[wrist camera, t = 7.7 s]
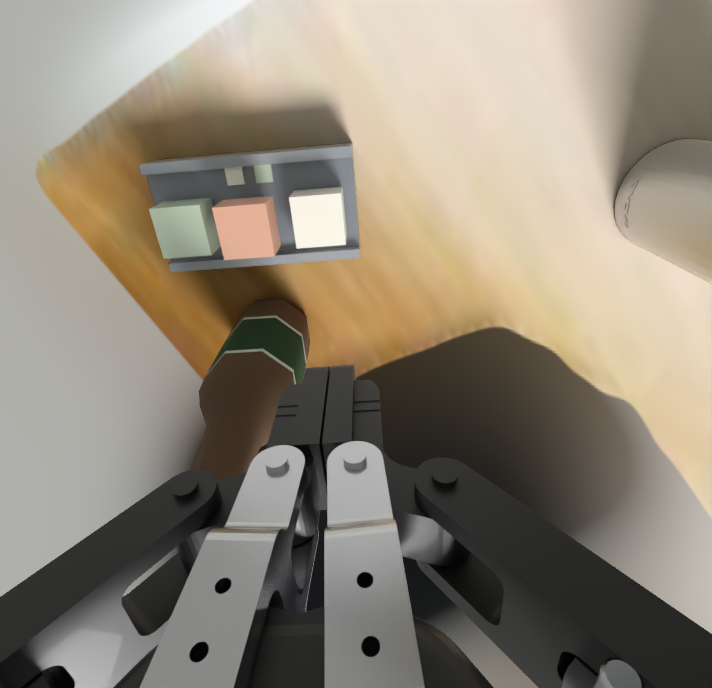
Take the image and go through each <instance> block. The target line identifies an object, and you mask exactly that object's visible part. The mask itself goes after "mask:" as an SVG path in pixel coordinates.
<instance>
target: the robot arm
mask: <svg viewBox="0 0 712 688" xmlns="http://www.w3.org/2000/svg"><path fill="white" fill-rule="evenodd" d="M614 212H615V219H616V223H617V226H618V228H619V231H620V232H621V233H622V234H623V236H624V237H625V238H626V239H628V240H629V241H630V242H632V243H633V244H635V245H637V246H639V247H641V248H643V249H645V250H647V251H649V252H651V253H653V254H655V255H656V256H658V257H660V258H662V259H664V260H666V261H668V262H670V263H672V264H674V265H676V266H678V267H680V268H682V269H684V270H686V271H688V272H689V273H691V274H693V275H695V276H697V277H699V278H701V279H703V280H705V281H707V282H709V283H711V284H712V141H707V140H698V139H680V140H675V141H672V142H668V143H665V144H663V145H661V146H659V147H657V148H655V149H653V150H652V151H651V152H649V153H648V154H646V155H645V156H644V157H642V158H641V159H640V160H639V161H638V162H637V163H636V164H635V165H634V166H633V167H632V169H631V170H630V171H629V173H628V174H627V175H626V177H625V178H624V180H623V182H622V184H621V186H620V188H619V191H618V194H617V197H616V201H615V211H614ZM320 510H327V512H328V526H327V527H325V536H324V537H325V539H324V542H325V543H324V546H325V549H324V553H325V554H324V557H325V560H324V561H325V563H324V564H325V567H324V568H325V570H324V571H325V572H324V573H325V606H324V607H321V608H317V609H314V610H311V611H308V612H306V602H307V597H308V591H309V586H310V580H311V575H312V569H313V564H314V558H315V552H316V547H317V542H318V521H319V511H320ZM174 548H176V550H177V552H178V553H177V554H176V555H175V556H173V557H172V558H171V559H170V560H169V561H167V562H166V563H165V564H164V565H162V566H161V567H160V568H159V569H158V570H156V571H155V572H154V573H153V574H152V575H150V576H149V577H148V578H147V579H146V580H144V581H143V582H142V583H141V584H140V585H139V586H137V587H136V588H135V589H133V590H132V591H131V592H130V593H129V594H127V595H126V596H124V597H123V594H124V592H125V590H126V589H127V588H128V586H130V585H131V584H132V582H134V581H135V580H136V579H137V578H139V577H140V576H141V575H142V574H143V573H145V572H146V571H147V570H148V569H150V568H151V567H152V566H153V565H154V564H155V563H157V562H158V561H159V560H161V559H162V558H163V557H164V556H166V555H167V554H168V553H169V552H170V551H172V550H173V549H174ZM402 556H404V557H408V558H412V559H415V560H417V563H418V565H419V567H420V569H421V570H422V571H423V572H424V573H425V574H426V575H427V576H428V577H429V578H430V579H431V580H432V581H433V582H434V583H435V584H436V585H437V586H438V587H439V588H440V589H441V590H442V591H443V592H444V593H445V594H446V595H447V596H448V597H449V598H450V599H451V600H452V601H453V602H454V603H455V604H456V605H457V606H458V607H459V608H460V609H461V610H462V611H463V612H464V613H465V614H466V615H467V616H468V617H469V618H470V619H471V620H472V621H473V622H474V623H475V624H476V625H477V626H478V627H479V628H480V629H481V630H482V631H483V632H484V633H485V634H486V635H487V636H488V637H489V638H490V639H491V640H492V641H493V642H494V643H495V644H496V645H497V646H498V647H499V648H500V649H501V650H502V651H503V652H504V653H505V654H506V655H507V656H508V657H509V658H510V659H511V660H512V661H513V662H514V663H515V664H516V665H517V666H518V667H519V668H520V669H521V670H522V671H523V672H524V673H525V674H526V675H527V676H528V677H529V678H530V679H531V680H532V681H533V682H534V683H535V684H536V685H537V686H538V687H539V688H712V634H711V633H709V632H708V631H706V630H705V629H704V628H702V627H700V626H699V625H698V624H696V623H695V622H693V621H692V620H690V619H689V618H687V617H686V616H685V615H683V614H682V613H680V612H679V611H677V610H676V609H674V608H673V607H671V606H670V605H668V604H667V603H666V602H664V601H663V600H661V599H660V598H658V597H657V596H656V595H654V594H653V593H651V592H650V591H648V590H647V589H645V588H644V587H642V586H641V585H640V584H638V583H637V582H635V581H634V580H632V579H631V578H629V577H628V576H626V575H625V574H624V573H622V572H620V571H619V570H617V569H616V568H615V567H613V566H612V565H610V564H609V563H607V562H606V561H604V560H603V559H602V558H600V557H599V556H597V555H596V554H594V553H593V552H592V551H590V550H589V549H587V548H586V547H584V546H583V545H581V544H580V543H578V542H577V541H575V540H574V539H573V538H571V537H570V536H568V535H567V534H565V533H564V532H562V531H561V530H560V529H558V528H556V527H555V526H554V525H552V524H551V523H549V522H548V521H546V520H545V519H543V518H542V517H541V516H539V515H538V514H536V513H535V512H533V511H532V510H530V509H529V508H528V507H526V506H524V505H523V504H522V503H520V502H519V501H517V500H516V499H514V498H513V497H512V496H510V495H508V494H507V493H506V492H504V491H503V490H501V489H500V488H498V487H497V486H496V485H494V484H493V483H491V482H490V481H488V480H487V479H485V478H484V477H482V476H481V475H480V474H478V473H477V472H475V471H474V470H472V469H471V468H469V467H468V466H466V465H465V464H463V463H461V462H460V461H457V460H455V459H450V458H442V457H440V458H433V459H430V460H427V461H425V462H423V463H422V464H421V465H420V466H419V467H418V468H417V469H415V468H410V467H406V466H402V465H400V464H397V463H396V462H394V461H392V460H391V459H389V457H388V456H387V455H386V454H385V452H384V450H383V444H382V428H381V413H380V398H379V389H378V387H377V386H376V385H375V383H374V382H373V381H372V380H356V376H355V367H354V365H343V366H331V369H330V367H313V368H306V370H305V375H304V380H303V384H293V385H290V386H289V387H288V388H287V389H286V390H285V391H284V392H283V393H282V394H281V396H280V400H279V404H278V408H277V411H276V415H275V418H274V422H273V426H272V429H271V433H270V436H269V440H268V444H267V448H266V449H265V450H264V451H262V452H260V453H259V454H258V455H257V456H256V457H255V458H254V459H253V460H252V462H251V464H250V466H249V469H248V471H247V472H245V473H242V474H240V475H237V476H234V477H231V478H227V479H224V480H221V481H216V478H215V476H214V475H213V474H212V473H211V472H209V471H206V470H201V469H195V470H190V471H186V472H183V473H180V474H178V475H176V476H174V477H173V478H171V479H170V480H168V481H167V482H166V483H164V484H163V485H161V486H160V487H159V488H157V489H155V490H154V491H152V492H151V493H150V494H148V495H147V496H145V497H144V498H142V499H141V500H140V501H138V502H137V503H135V504H134V505H133V506H131V507H130V508H128V509H127V510H125V511H124V512H122V513H121V514H119V515H118V516H117V517H115V518H114V519H112V520H111V521H109V522H108V523H107V524H105V525H104V526H102V527H101V528H99V529H98V530H96V531H95V532H93V533H92V534H91V535H89V536H88V537H86V538H85V539H83V540H82V541H80V542H79V543H78V544H76V545H75V546H73V547H72V548H71V549H69V550H67V551H66V552H65V553H63V554H62V555H60V556H59V557H57V558H56V559H55V560H53V561H52V562H50V563H49V564H47V565H46V566H44V567H43V568H42V569H40V570H39V571H37V572H36V573H34V574H33V575H31V576H30V577H28V578H27V579H26V580H24V581H23V582H21V583H20V584H18V585H17V586H16V587H14V588H13V589H11V590H10V591H9V592H7V593H6V594H4V595H3V596H1V597H0V688H493V687H492V685H491V684H490V683H489V682H488V681H487V680H486V678H485V677H484V676H483V675H482V674H481V673H480V671H479V670H478V669H477V668H476V667H475V666H474V664H473V663H472V662H471V661H470V660H469V659H468V658H467V656H466V655H465V654H464V653H463V652H462V651H461V649H460V648H459V647H458V646H457V645H456V644H455V643H454V642H453V641H452V640H451V639H450V638H449V637H447V636H446V635H445V634H444V633H443V632H441V631H440V630H438V629H437V628H435V627H434V626H433V625H431V624H429V623H427V622H425V621H423V620H421V619H419V618H416V617H414V616H412V611H411V605H410V599H409V594H408V588H407V582H406V576H405V571H404V565H403V559H402Z"/></svg>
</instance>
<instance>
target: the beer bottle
mask: <svg viewBox="0 0 712 688" xmlns="http://www.w3.org/2000/svg"><path fill="white" fill-rule="evenodd" d="M309 345H310V339H309V332H308V325H307V318H306V316H305V315H304V314H303V313H301V312H300V311H299V310H297V309H296V308H295V307H293V306H292V305H291V304H289V303H288V302H287V301H285V300H284V299H273V300H258V301H254V302H253V303H252V304H251V306H250V307H249V308H248V309H247V310H246V312H245V313H244V314H243V315H242V317H241V318H240V319H239V320H238V322H237V323H236V325H235V326H234V327H233V329H232V331H231V332H230V334H229V336H228V338H227V339H226V341H225V343H224V345H223V346H222V348H221V350H220V352H219V353H218V355H217V357H216V359H215V360H214V362H213V364H212V366H211V367H210V369H209V371H208V373H207V374H206V376H205V378H204V381H203V383H202V386H201V388H200V390H199V397H200V407H201V411H202V414H203V417H204V420H205V423H206V430H205V436H204V439H203V442H202V445H201V447H200V450H199V453H198V455H197V458H196V461H195V463H194V466H193V469H192V470H195V469H201V470H206V471H209V472H211V473H212V474H213V475H214V476H215V478H216V481H221V480H224V479H227V478H231V477H234V476H237V475H240V474H242V473H245V472H247V471H248V469H249V466H250V464H251V462H252V460H253V459H254V458H255V457H256V456H257V453H258V451H259V449H260V447H262V446H264V445H265V444H267V443H268V440H269V436H270V433H271V429H272V426H273V422H274V418H275V415H276V411H277V408H278V404H279V400H280V396H281V394H282V393H283V392H284V391H285V390H286V389H287V388H288V387H289V386H290V385H293V384H302V381H303V376H304V371H305V367H306V362H307V357H308V352H309Z"/></svg>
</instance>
